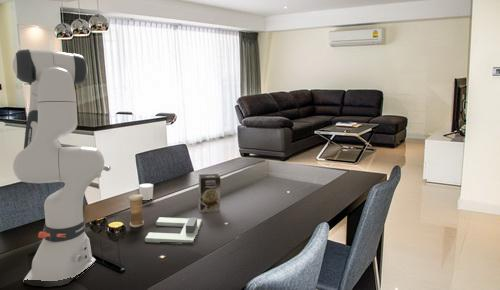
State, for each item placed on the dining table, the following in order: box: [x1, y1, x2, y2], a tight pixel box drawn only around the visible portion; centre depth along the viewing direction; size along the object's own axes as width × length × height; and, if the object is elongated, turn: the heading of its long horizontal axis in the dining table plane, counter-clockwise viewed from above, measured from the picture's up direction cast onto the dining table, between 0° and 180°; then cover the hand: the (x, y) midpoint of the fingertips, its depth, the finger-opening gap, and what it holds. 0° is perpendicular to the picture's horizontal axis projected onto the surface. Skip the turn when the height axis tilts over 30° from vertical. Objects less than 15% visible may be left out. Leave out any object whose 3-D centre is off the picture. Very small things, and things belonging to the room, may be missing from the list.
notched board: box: [144, 217, 203, 243], centre depth 156 cm, size 20×18×4 cm
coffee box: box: [197, 173, 221, 213], centre depth 179 cm, size 9×6×16 cm
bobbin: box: [128, 194, 145, 228], centre depth 161 cm, size 6×6×12 cm
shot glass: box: [138, 182, 154, 201], centre depth 191 cm, size 7×7×7 cm
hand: (105, 171), depth 158 cm, fingers open, 8 cm apart
